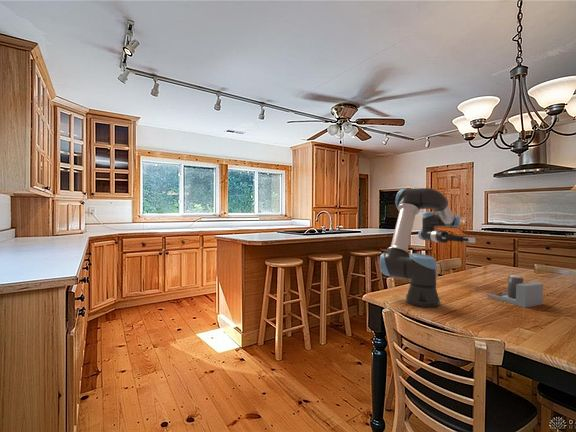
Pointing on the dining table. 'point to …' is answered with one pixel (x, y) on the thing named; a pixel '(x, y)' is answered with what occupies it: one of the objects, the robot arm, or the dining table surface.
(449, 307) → the dining table surface
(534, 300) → the mount
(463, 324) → the dining table surface
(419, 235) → the robot arm
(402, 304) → the dining table surface
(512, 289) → the knob
